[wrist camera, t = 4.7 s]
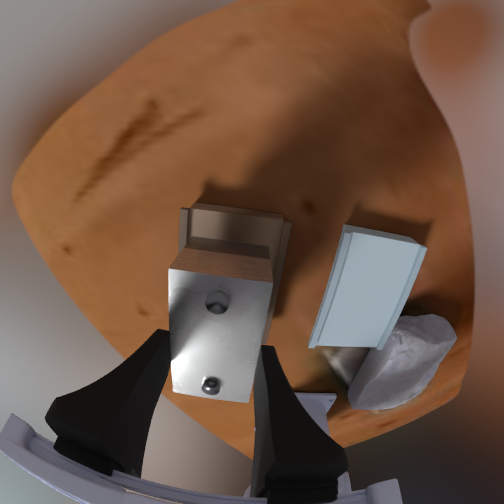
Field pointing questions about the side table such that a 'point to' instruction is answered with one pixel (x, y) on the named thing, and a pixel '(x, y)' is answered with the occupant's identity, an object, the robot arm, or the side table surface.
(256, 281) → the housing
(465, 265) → the side table surface
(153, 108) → the side table surface
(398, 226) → the side table surface
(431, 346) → the stone block
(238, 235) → the walnut stand
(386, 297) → the bluegrey stand
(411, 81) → the side table surface
